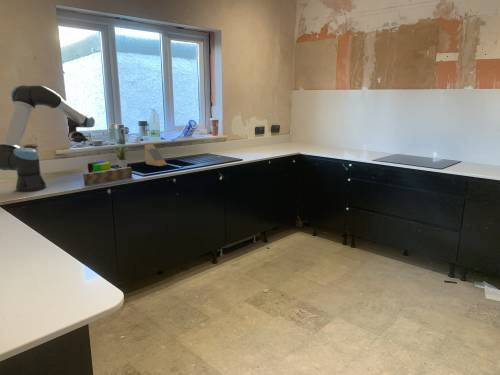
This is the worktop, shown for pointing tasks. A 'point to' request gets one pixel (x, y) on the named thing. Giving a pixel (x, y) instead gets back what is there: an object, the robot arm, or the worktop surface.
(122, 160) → the house plant
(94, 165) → the puzzle toy
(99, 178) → the walnut board
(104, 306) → the worktop surface
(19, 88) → the robot arm
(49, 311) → the worktop surface
